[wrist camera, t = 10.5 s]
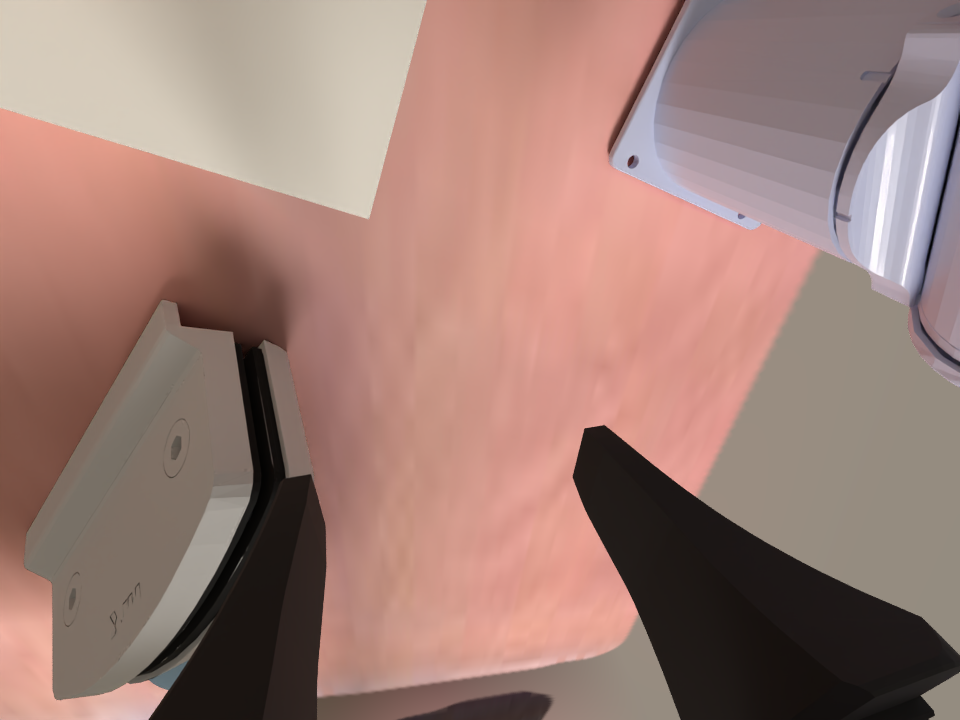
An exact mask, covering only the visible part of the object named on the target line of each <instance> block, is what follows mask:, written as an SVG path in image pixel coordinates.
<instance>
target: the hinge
mask: <svg viewBox="0 0 960 720" xmlns="http://www.w3.org/2000/svg"><path fill="white" fill-rule="evenodd" d="M308 474H311V475H312V479H313V482H314V472H313V468H312V463H311V459H310V454H309V450H308V445H307V441H306V436H305V432H304V427H303V423H302V418H301V414H300V409H299V405H298V400H297V396H296V391H295V387H294V382H293V378H292V373H291V369H290V364H289V360H288V355H287V352H286V351H284V350H283V349H282V348H280V347H279V346H277V345H274V344H272V343H270V342H268V341H266V340H263V342H262V343H261V344H260V346H259V347H258V348H255V347H252V348H251V349H250V351H249V352H248V353H247V355H246V356H245V358H244V359H243V353H242V347H241V344H238V343H234V337H233V332H228V331H219V330H211V329H202V328H193V327H184V326H181V323H180V318H179V313H178V307H177V303H174V302H171V301H167V300H161V302H160V303H159V305H158V307H157V309H156V310H155V312H154V314H153V315H152V317H151V319H150V321H149V322H148V324H147V326H146V328H145V329H144V331H143V333H142V335H141V336H140V338H139V340H138V341H137V343H136V345H135V347H134V348H133V350H132V352H131V354H130V355H129V357H128V359H127V360H126V362H125V364H124V366H123V367H122V369H121V371H120V373H119V374H118V376H117V378H116V380H115V381H114V383H113V385H112V386H111V388H110V390H109V392H108V393H107V395H106V397H105V399H104V400H103V402H102V404H101V405H100V407H99V409H98V411H97V412H96V414H95V416H94V418H93V419H92V421H91V423H90V425H89V426H88V428H87V430H86V431H85V433H84V435H83V437H82V438H81V440H80V442H79V444H78V445H77V447H76V449H75V450H74V452H73V454H72V456H71V457H70V459H69V461H68V463H67V464H66V466H65V468H64V470H63V471H62V473H61V475H60V476H59V478H58V480H57V482H56V483H55V485H54V487H53V489H52V490H51V492H50V494H49V495H48V497H47V499H46V501H45V502H44V504H43V506H42V508H41V509H40V511H39V513H38V515H37V516H36V518H35V520H34V521H33V523H32V525H31V527H30V528H29V530H28V532H27V534H26V542H25V553H24V567H25V568H26V569H27V570H29V571H31V572H33V573H35V574H37V575H39V576H41V577H44V578H46V579H48V580H49V581H51V583H52V613H53V693H54V697H55V699H56V700H63V699H71V698H78V697H86V696H94V695H100V694H104V693H107V692H111V691H113V690H115V689H117V688H119V687H121V686H123V685H124V684H126V683H129V684H133V683H140V682H144V681H147V680H150V679H153V678H155V677H157V676H159V675H161V674H163V673H165V672H167V671H169V670H170V669H172V668H174V667H176V666H178V665H180V664H182V663H184V662H186V661H188V660H189V659H190V657H191V656H192V654H193V653H194V651H195V650H196V648H197V646H198V645H199V643H200V642H201V640H202V638H203V637H204V635H205V633H206V632H207V630H208V628H209V627H210V625H211V623H212V622H213V620H214V618H215V617H216V615H217V613H218V611H219V610H220V608H221V606H222V604H223V602H224V601H225V599H226V597H227V595H228V593H229V592H230V590H231V588H232V586H233V584H234V583H235V581H236V579H237V577H238V575H239V573H240V571H241V569H242V567H243V565H244V563H245V561H246V559H247V557H248V555H249V553H250V551H251V549H252V547H253V545H254V543H255V541H256V539H257V537H258V535H259V533H260V530H261V528H262V526H263V524H264V522H265V519H266V517H267V515H268V512H269V510H270V508H271V505H272V503H273V500H274V498H275V495H276V493H277V490H278V487H279V484H280V482H281V481H282V480H283V479H284V478H290V477H296V476H302V475H308Z"/></svg>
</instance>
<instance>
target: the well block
mask: <svg viewBox="0 0 960 720" xmlns="http://www.w3.org/2000/svg"><path fill="white" fill-rule="evenodd" d="M426 1H427V0H0V108H2V109H6V110H9V111H12V112H16V113H19V114H22V115H26V116H29V117H32V118H36V119H39V120H42V121H45V122H49V123H52V124H55V125H59V126H62V127H65V128H69V129H72V130H75V131H79V132H82V133H85V134H88V135H92V136H95V137H98V138H102V139H105V140H108V141H112V142H115V143H118V144H122V145H125V146H128V147H131V148H135V149H138V150H141V151H145V152H148V153H151V154H155V155H158V156H161V157H165V158H168V159H171V160H175V161H178V162H181V163H184V164H188V165H191V166H194V167H198V168H201V169H204V170H208V171H211V172H214V173H218V174H221V175H224V176H227V177H231V178H234V179H237V180H241V181H244V182H247V183H251V184H254V185H257V186H261V187H264V188H267V189H270V190H274V191H277V192H280V193H284V194H287V195H290V196H294V197H297V198H300V199H304V200H307V201H310V202H314V203H317V204H320V205H323V206H327V207H330V208H333V209H337V210H340V211H343V212H347V213H350V214H353V215H357V216H360V217H363V218H366V219H369V217H370V213H371V210H372V206H373V202H374V198H375V194H376V191H377V187H378V183H379V179H380V175H381V172H382V168H383V164H384V160H385V157H386V153H387V149H388V145H389V141H390V138H391V134H392V130H393V126H394V122H395V119H396V115H397V111H398V107H399V103H400V100H401V96H402V92H403V88H404V85H405V81H406V77H407V73H408V69H409V66H410V62H411V58H412V54H413V50H414V47H415V43H416V39H417V35H418V31H419V28H420V24H421V20H422V16H423V13H424V9H425V5H426Z"/></svg>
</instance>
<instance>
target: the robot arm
mask: <svg viewBox="0 0 960 720" xmlns="http://www.w3.org/2000/svg"><path fill="white" fill-rule="evenodd" d="M633 155H634V161H633V163H632V164H631V165H630V166H628V165H627V162H628V159H629V158H630V157H631V156H633ZM609 163H610V165H611V166H612V167H613V168H615V169H617V170H619V171H621V172H624V173H626V174H628V175H630V176H632V177H635V178H637V179H639V180H641V181H643V182H646V183H648V184H650V185H652V186H654V187H657V188H659V189H661V190H663V191H665V192H668V193H670V194H672V195H674V196H676V197H679V198H681V199H683V200H685V201H687V202H690V203H692V204H694V205H696V206H698V207H700V208H703V209H705V210H707V211H709V212H711V213H714V214H716V215H718V216H720V217H722V218H725V219H727V220H729V221H731V222H733V223H736V224H738V225H740V226H742V227H744V228H747V229H749V230H753V229H755V228H757V227H758V226H760V224H761V223H762V224H765V225H767V226H769V227H771V228H774V229H776V230H778V231H780V232H783V233H785V234H787V235H789V236H792V237H794V238H796V239H798V240H801V241H803V242H805V243H807V244H810V245H812V246H814V247H816V248H819V249H821V250H823V251H825V252H828V253H830V254H832V255H834V256H837V257H839V258H841V259H843V260H846V261H848V262H850V263H854V264H856V265H858V266H860V267H861V268H863V269H865V270H867V271H868V273H869V274H870V276H871V279H872V289H873V290H875V291H877V292H879V293H881V294H883V295H885V296H887V297H889V298H892V299H894V300H896V301H898V302H900V303H902V304H904V305H906V306H908V307H910V310H909V314H908V329H909V332H910V336H911V340H912V343H913V344H914V346H915V348H916V349H917V351H918V353H919V354H920V356H921V357H922V358H923V359H924V360H925V361H926V362H927V363H928V364H929V365H930V367H932V369H934V370H935V371H936V372H937V373H939V374H940V375H942V376H943V377H944V378H945V379H947V380H948V381H949V382H951V383H953V384H954V385H956V386H958V387H960V0H686V1H685V3H684V5H683V7H682V9H681V11H680V13H679V15H678V17H677V19H676V21H675V23H674V25H673V27H672V29H671V31H670V33H669V35H668V37H667V39H666V41H665V43H664V45H663V47H662V49H661V51H660V53H659V55H658V57H657V59H656V61H655V63H654V65H653V67H652V69H651V71H650V73H649V75H648V77H647V79H646V81H645V83H644V85H643V87H642V89H641V91H640V93H639V95H638V97H637V99H636V101H635V103H634V105H633V107H632V109H631V111H630V113H629V115H628V117H627V119H626V121H625V123H624V125H623V127H622V129H621V131H620V133H619V135H618V137H617V139H616V141H615V143H614V145H613V147H612V149H611V151H610V154H609ZM739 213H740V214H739ZM738 214H739V215H738ZM573 479H574V482H575V485H576V487H577V490H578V493H579V496H580V498H581V500H582V503H583V505H584V508H585V510H586V512H587V514H588V516H589V518H590V520H591V522H592V524H593V526H594V528H595V530H596V531H597V533H598V535H599V537H600V539H601V541H602V543H603V544H604V546H605V548H606V550H607V552H608V554H609V556H610V557H611V559H612V561H613V563H614V565H615V567H616V568H617V570H618V572H619V574H620V576H621V578H622V580H623V581H624V583H625V585H626V587H627V589H628V591H629V593H630V595H631V597H632V599H633V601H634V603H635V606H636V608H637V611H638V613H639V615H640V618H641V620H642V622H643V625H644V627H645V629H646V631H647V634H648V636H649V639H650V641H651V643H652V646H653V649H654V651H655V654H656V656H657V658H658V661H659V664H660V666H661V669H662V671H663V673H664V676H665V679H666V681H667V684H668V687H669V689H670V692H671V695H672V697H673V700H674V703H675V706H676V708H677V711H678V713H679V716H680V719H681V720H929V718H931V717H933V716H935V714H934V710H933V709H932V708H931V707H930V706H929V705H928V704H927V703H926V701H925V700H924V699H923V698H922V697H921V696H920V695H922V694H924V693H925V692H927V691H929V690H931V689H932V688H934V687H935V686H937V685H939V684H941V683H942V682H944V681H946V680H947V679H949V678H951V677H952V676H954V675H956V674H957V673H959V672H960V655H959V654H958V653H957V652H956V651H955V650H954V649H953V648H952V647H951V646H950V645H949V644H948V643H947V642H946V641H945V640H944V639H943V638H942V637H941V636H940V635H939V634H938V633H937V632H936V631H935V630H934V629H933V628H932V627H931V626H930V625H929V624H928V623H927V622H926V621H925V620H924V619H923V618H922V617H920V616H918V615H915V614H913V613H911V612H908V611H906V610H904V609H901V608H899V607H897V606H894V605H892V604H890V603H887V602H885V601H882V600H880V599H878V598H876V597H873V596H871V595H868V594H866V593H864V592H862V591H860V590H857V589H855V588H853V587H851V586H849V585H847V584H845V583H843V582H840V581H839V580H836V579H834V578H832V577H830V576H828V575H826V574H824V573H822V572H820V571H818V570H816V569H814V568H812V567H810V566H808V565H806V564H804V563H802V562H801V561H799V560H797V559H795V558H793V557H791V556H790V555H788V554H786V553H784V552H782V551H780V550H779V549H777V548H775V547H773V546H771V545H770V544H768V543H766V542H764V541H763V540H761V539H759V538H758V537H756V536H754V535H753V534H751V533H749V532H748V531H746V530H744V529H743V528H741V527H740V526H738V525H736V524H735V523H733V522H732V521H730V520H729V519H727V518H725V517H724V516H722V515H721V514H719V513H718V512H716V511H715V510H713V509H712V508H711V507H709V506H708V505H706V504H705V503H704V502H702V501H701V500H699V499H698V498H696V497H695V496H694V495H692V494H691V493H689V492H688V491H687V490H685V489H684V488H683V487H681V486H680V485H679V484H677V483H676V482H675V481H673V480H672V479H671V478H669V477H668V476H667V475H666V474H664V473H663V472H662V471H660V470H659V469H658V468H657V467H655V466H654V465H653V464H652V463H650V462H649V461H648V460H647V459H645V458H644V457H643V456H642V455H641V454H639V453H638V452H637V451H636V450H634V449H633V448H632V447H631V446H630V445H628V444H627V443H626V442H625V441H623V440H622V439H621V438H620V437H619V436H617V435H616V434H615V433H614V432H612V431H611V430H610V429H609V428H607V427H606V426H605V425H603V426H597V427H591V428H585V429H584V433H583V437H582V441H581V445H580V449H579V453H578V457H577V461H576V465H575V469H574V473H573ZM325 577H326V529H325V521H324V518H323V514H322V511H321V507H320V504H319V500H318V497H317V493H316V489H315V486H314V482H313V479H312V475H311V474H308V475H302V476H296V477H290V478H284V479H283V480H282V481H281V482H280V484H279V487H278V490H277V493H276V495H275V498H274V500H273V503H272V505H271V508H270V510H269V512H268V515H267V517H266V519H265V522H264V524H263V526H262V528H261V530H260V533H259V535H258V537H257V539H256V541H255V543H254V545H253V547H252V549H251V551H250V553H249V555H248V557H247V559H246V561H245V563H244V565H243V567H242V569H241V571H240V573H239V575H238V577H237V579H236V581H235V583H234V584H233V586H232V588H231V590H230V592H229V593H228V595H227V597H226V599H225V601H224V602H223V604H222V606H221V608H220V610H219V611H218V613H217V615H216V617H215V618H214V620H213V622H212V623H211V625H210V627H209V628H208V630H207V632H206V633H205V635H204V637H203V638H202V640H201V642H200V643H199V645H198V646H197V648H196V650H195V651H194V653H193V654H192V656H191V657H190V659H189V661H188V662H187V664H186V665H185V667H184V668H183V670H182V671H181V673H180V675H179V676H178V677H177V679H176V680H175V682H174V683H173V685H172V686H171V688H170V689H169V691H168V692H167V694H166V695H165V697H164V698H163V699H162V701H161V702H160V704H159V705H158V707H157V708H156V710H155V711H154V713H153V714H152V715H151V717H150V718H149V720H317V675H318V659H319V648H320V636H321V625H322V613H323V601H324V589H325Z"/></svg>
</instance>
